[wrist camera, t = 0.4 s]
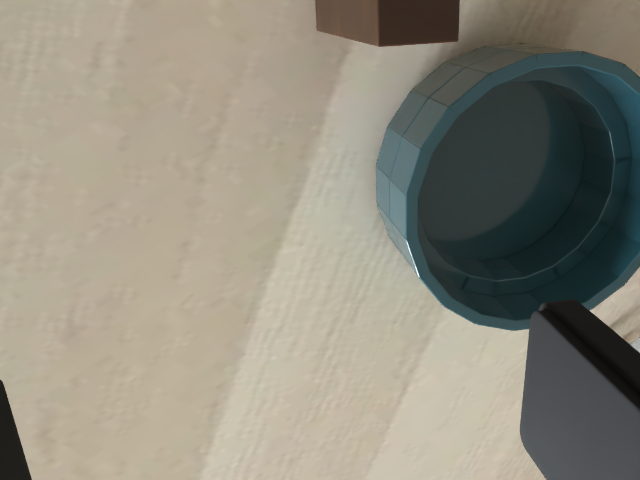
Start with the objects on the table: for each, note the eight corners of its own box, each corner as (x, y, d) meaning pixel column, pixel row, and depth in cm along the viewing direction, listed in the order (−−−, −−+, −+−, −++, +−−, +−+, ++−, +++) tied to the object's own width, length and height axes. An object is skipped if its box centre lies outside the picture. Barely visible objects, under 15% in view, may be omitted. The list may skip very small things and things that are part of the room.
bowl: (370, 52, 30) (406, 63, 24) (617, 35, 31) (703, 42, 26) (375, 291, 34) (405, 345, 29) (587, 265, 36) (654, 312, 31)
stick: (313, -26, 28) (376, -46, 17) (366, -29, 28) (462, -51, 17) (316, 30, 29) (378, 47, 18) (367, 27, 29) (458, 41, 18)
